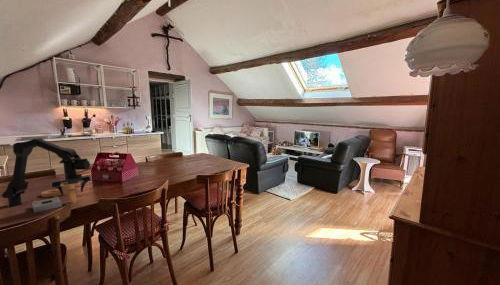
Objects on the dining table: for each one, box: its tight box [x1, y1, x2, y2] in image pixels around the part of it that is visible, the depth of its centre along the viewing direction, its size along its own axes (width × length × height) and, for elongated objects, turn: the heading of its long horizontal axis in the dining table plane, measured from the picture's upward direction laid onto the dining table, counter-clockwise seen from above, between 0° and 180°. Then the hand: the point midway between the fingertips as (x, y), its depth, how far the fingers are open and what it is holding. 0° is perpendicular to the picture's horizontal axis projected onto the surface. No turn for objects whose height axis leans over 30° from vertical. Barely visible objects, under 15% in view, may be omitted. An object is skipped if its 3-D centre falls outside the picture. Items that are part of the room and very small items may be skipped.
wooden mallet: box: [41, 183, 75, 198], centre depth 154 cm, size 18×8×7 cm, turn 111°
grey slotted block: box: [32, 196, 63, 214], centre depth 132 cm, size 12×12×4 cm
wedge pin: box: [68, 188, 78, 204], centre depth 139 cm, size 4×4×8 cm
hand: (72, 194), depth 139 cm, fingers open, 9 cm apart
